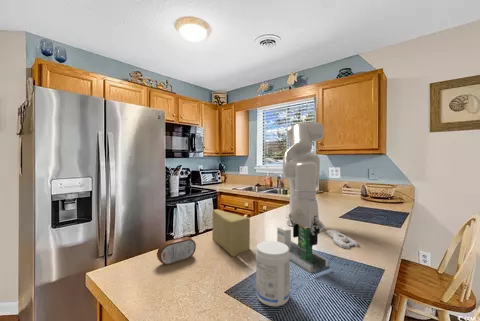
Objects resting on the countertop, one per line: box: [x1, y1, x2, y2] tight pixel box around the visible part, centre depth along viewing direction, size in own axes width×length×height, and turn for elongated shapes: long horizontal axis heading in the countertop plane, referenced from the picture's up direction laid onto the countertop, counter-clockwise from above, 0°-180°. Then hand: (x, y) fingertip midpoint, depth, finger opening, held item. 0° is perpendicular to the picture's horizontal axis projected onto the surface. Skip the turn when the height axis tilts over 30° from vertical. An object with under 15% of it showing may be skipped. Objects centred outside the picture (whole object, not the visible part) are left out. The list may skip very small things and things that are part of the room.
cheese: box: [211, 209, 251, 258], centre depth 99 cm, size 22×10×15 cm, turn 39°
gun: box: [325, 229, 359, 250], centre depth 106 cm, size 18×4×10 cm
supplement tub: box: [255, 240, 290, 307], centre depth 63 cm, size 10×10×15 cm
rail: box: [289, 240, 330, 277], centre depth 87 cm, size 10×22×4 cm, turn 29°
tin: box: [156, 236, 197, 266], centre depth 85 cm, size 15×3×8 cm, turn 129°
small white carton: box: [276, 225, 292, 251], centre depth 94 cm, size 5×3×9 cm, turn 29°
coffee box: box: [297, 225, 313, 262], centre depth 83 cm, size 8×3×13 cm, turn 6°
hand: (304, 240), depth 83 cm, fingers closed on coffee box, 8 cm apart
